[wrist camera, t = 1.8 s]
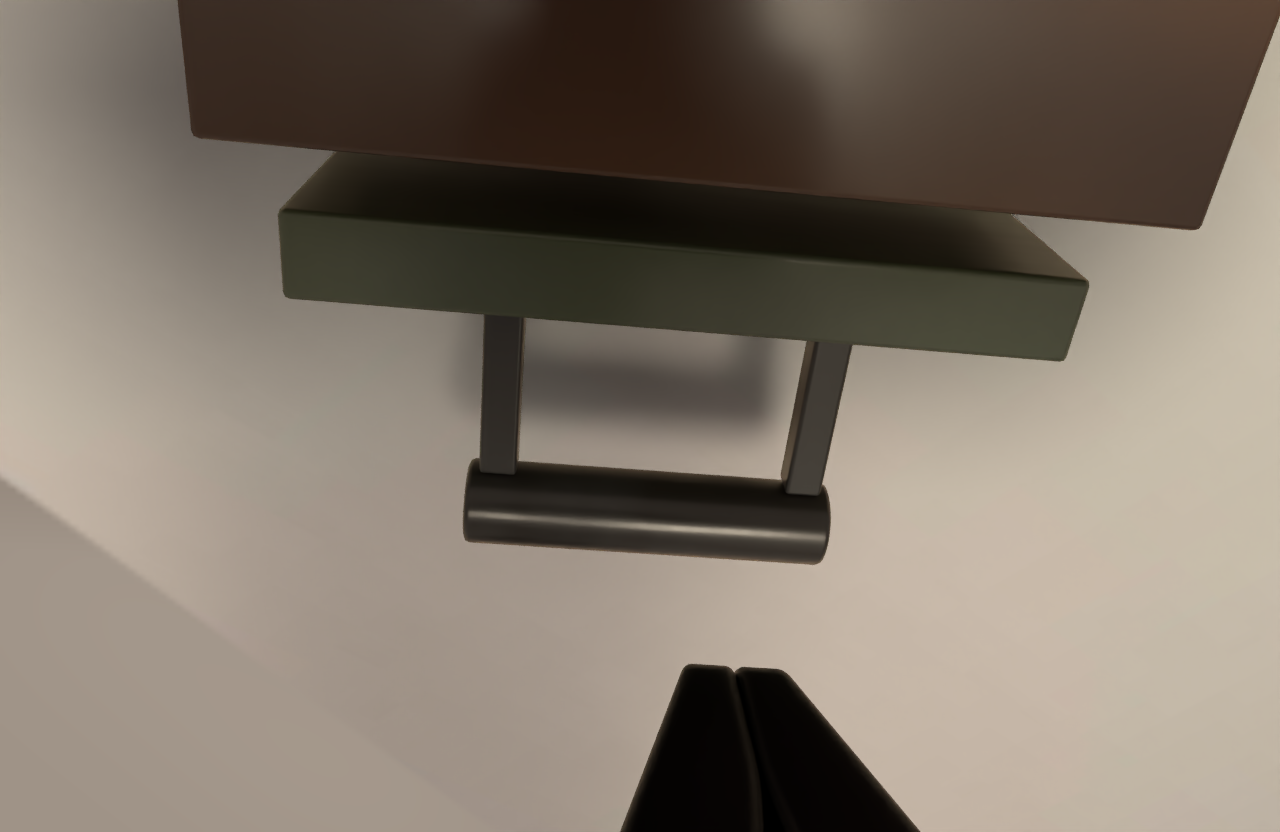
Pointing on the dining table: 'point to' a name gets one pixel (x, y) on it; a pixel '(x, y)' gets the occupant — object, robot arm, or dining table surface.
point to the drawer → (668, 317)
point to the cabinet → (760, 93)
